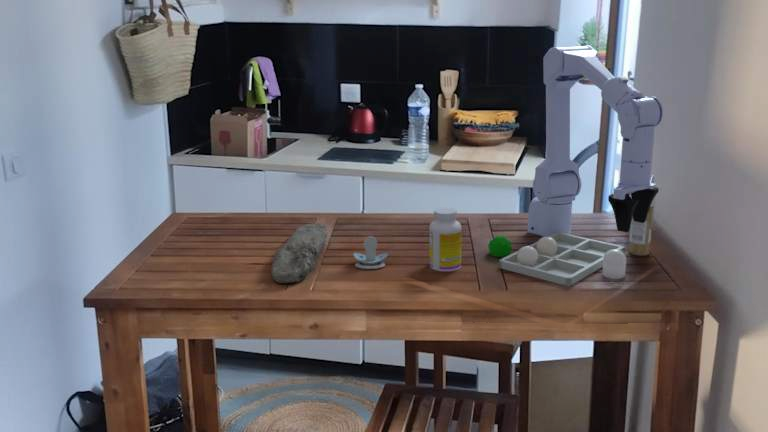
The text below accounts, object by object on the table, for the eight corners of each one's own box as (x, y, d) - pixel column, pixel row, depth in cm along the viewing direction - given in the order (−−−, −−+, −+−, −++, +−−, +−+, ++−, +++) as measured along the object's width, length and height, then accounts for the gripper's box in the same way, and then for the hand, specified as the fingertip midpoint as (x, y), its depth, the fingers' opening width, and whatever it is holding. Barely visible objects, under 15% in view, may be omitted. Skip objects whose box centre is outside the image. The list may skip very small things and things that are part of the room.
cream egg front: (512, 267, 164) (513, 247, 162) (523, 261, 167) (524, 241, 165) (530, 271, 161) (531, 251, 160) (542, 265, 164) (542, 245, 163)
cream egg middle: (532, 257, 169) (533, 237, 168) (542, 251, 172) (543, 232, 171) (550, 261, 166) (551, 241, 165) (560, 256, 170) (561, 236, 168)
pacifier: (386, 271, 165) (388, 260, 171) (385, 243, 163) (388, 233, 169) (351, 271, 166) (355, 260, 172) (350, 243, 164) (354, 233, 170)
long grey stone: (335, 238, 191) (295, 240, 192) (333, 217, 190) (293, 219, 191) (312, 285, 157) (263, 287, 158) (309, 260, 156) (260, 262, 157)
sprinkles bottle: (654, 256, 171) (659, 196, 167) (640, 260, 168) (645, 200, 164) (636, 250, 174) (641, 192, 170) (623, 254, 172) (627, 195, 168)
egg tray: (498, 271, 164) (498, 260, 163) (556, 241, 181) (557, 231, 180) (569, 290, 153) (569, 278, 153) (624, 257, 170) (625, 246, 170)
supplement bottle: (467, 268, 165) (468, 210, 162) (447, 277, 161) (447, 217, 157) (443, 261, 170) (443, 204, 166) (422, 269, 165) (422, 210, 162)
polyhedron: (505, 263, 168) (506, 242, 167) (484, 259, 171) (485, 238, 169) (514, 256, 172) (515, 235, 171) (494, 252, 175) (494, 232, 173)
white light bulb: (598, 279, 159) (600, 250, 157) (608, 273, 162) (610, 244, 160) (618, 284, 156) (620, 254, 154) (628, 278, 159) (630, 249, 157)
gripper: (640, 169, 146) (635, 239, 150) (671, 156, 156) (665, 221, 160) (605, 164, 150) (600, 232, 154) (637, 151, 161) (632, 215, 165)
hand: (631, 226), depth 158 cm, fingers open, 7 cm apart
